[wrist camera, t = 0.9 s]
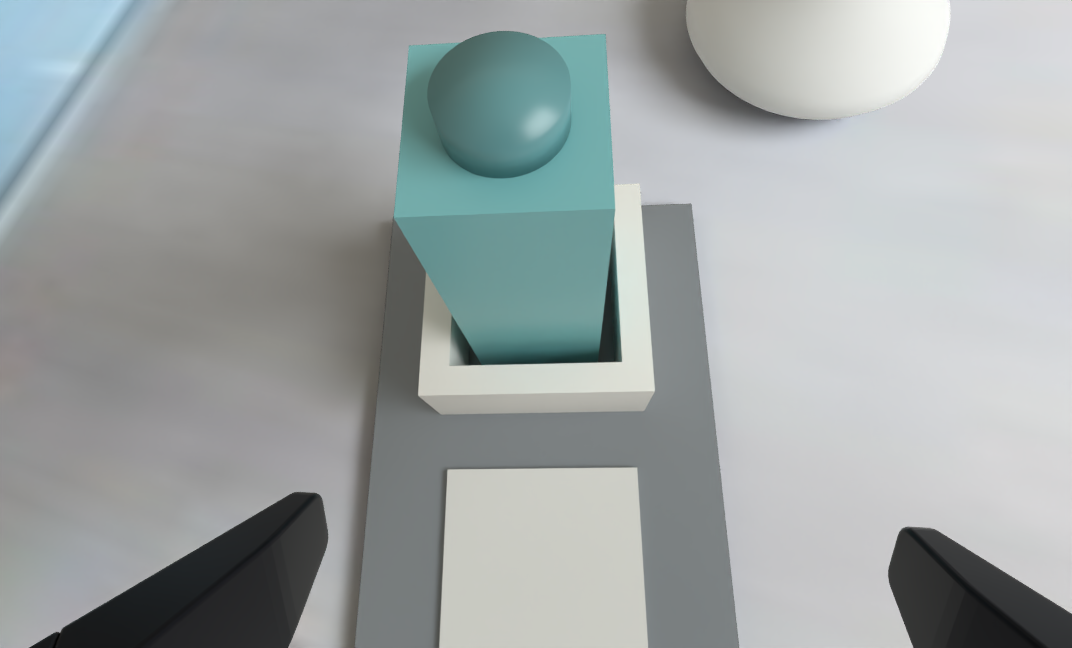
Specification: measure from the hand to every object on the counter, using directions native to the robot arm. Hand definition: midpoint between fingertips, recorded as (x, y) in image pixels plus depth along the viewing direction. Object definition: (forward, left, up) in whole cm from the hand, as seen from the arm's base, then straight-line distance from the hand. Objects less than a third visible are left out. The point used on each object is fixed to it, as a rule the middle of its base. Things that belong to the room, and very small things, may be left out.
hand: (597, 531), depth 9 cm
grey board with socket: (+2, +4, -13) cm, 14 cm away
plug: (+5, +7, -12) cm, 15 cm away
